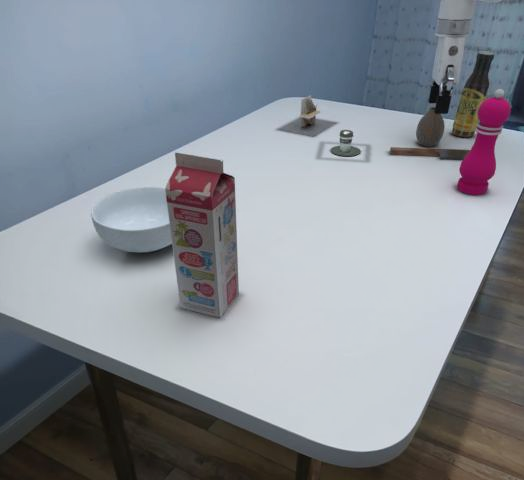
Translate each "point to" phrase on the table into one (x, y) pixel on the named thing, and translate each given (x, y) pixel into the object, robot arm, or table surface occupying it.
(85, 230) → the table surface
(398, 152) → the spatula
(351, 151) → the grey round knobbed disc
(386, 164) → the table surface
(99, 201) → the cereal bowl
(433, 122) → the vase
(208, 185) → the juice carton
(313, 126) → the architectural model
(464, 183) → the pepper mill
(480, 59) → the sauce bottle
